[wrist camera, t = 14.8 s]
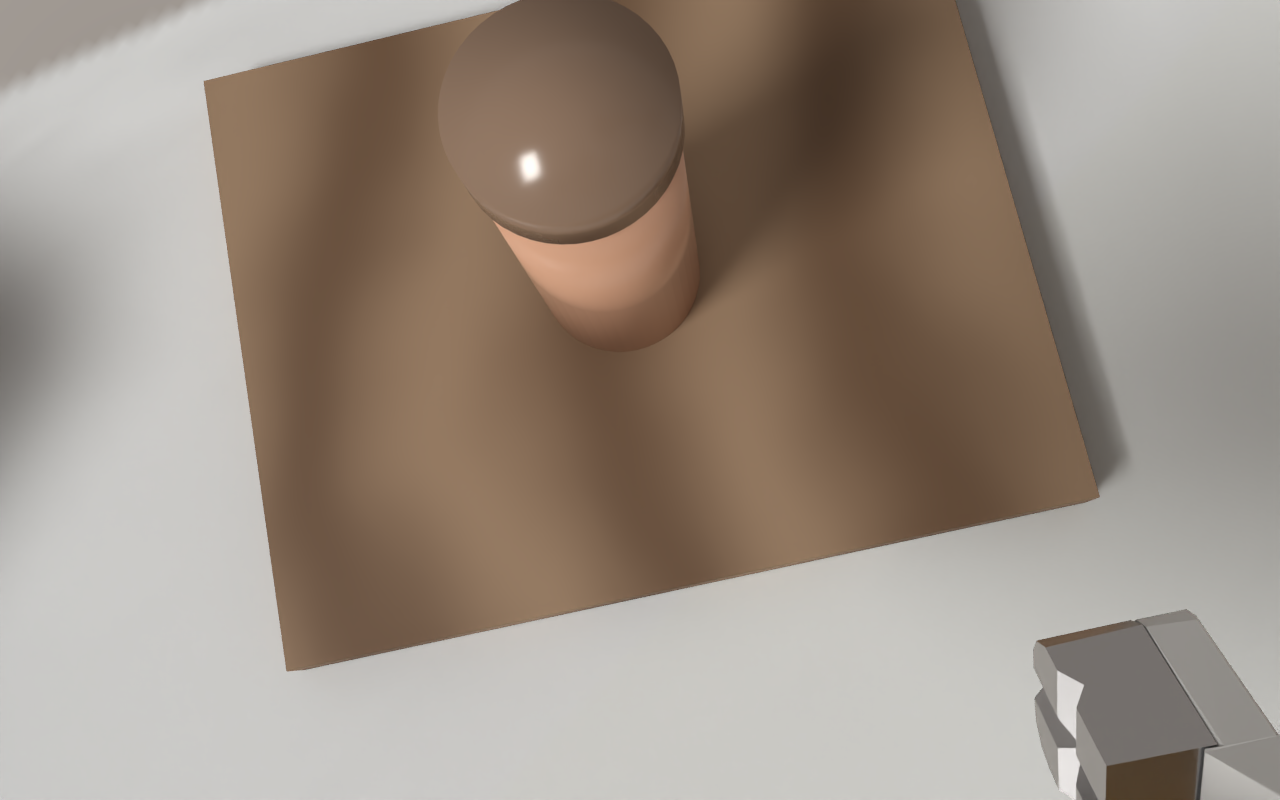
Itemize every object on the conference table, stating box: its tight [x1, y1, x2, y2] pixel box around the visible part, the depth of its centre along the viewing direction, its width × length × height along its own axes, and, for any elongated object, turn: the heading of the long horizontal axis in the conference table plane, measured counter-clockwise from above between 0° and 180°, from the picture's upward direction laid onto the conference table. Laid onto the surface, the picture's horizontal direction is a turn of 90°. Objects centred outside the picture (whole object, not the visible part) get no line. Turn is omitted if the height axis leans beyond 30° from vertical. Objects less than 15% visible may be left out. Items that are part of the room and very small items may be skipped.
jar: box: [438, 0, 700, 352], centre depth 25 cm, size 4×4×10 cm
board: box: [204, 0, 1100, 671], centre depth 30 cm, size 20×16×1 cm
